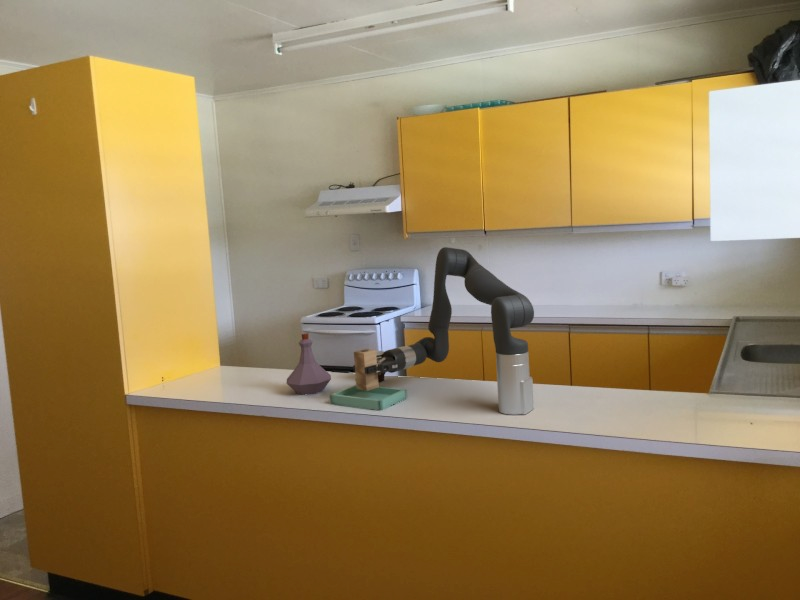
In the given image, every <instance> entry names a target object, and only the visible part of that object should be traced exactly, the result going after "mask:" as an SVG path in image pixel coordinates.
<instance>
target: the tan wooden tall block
mask: <svg viewBox="0 0 800 600" xmlns="http://www.w3.org/2000/svg"><path fill="white" fill-rule="evenodd" d="M376 351H377V350H375V349H369V348H363V349H360V350H355V351H353V359H354V365H355V372H354V373H355V385H356V387H357V389H360V390H365V391H368V390H372V389H375V388H378V387H380V385H379V382H378V373H377V372H374V373H370V374H365V370H364V368H365V367H368V366H371V365H375V364H377V358H376Z"/></svg>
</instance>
